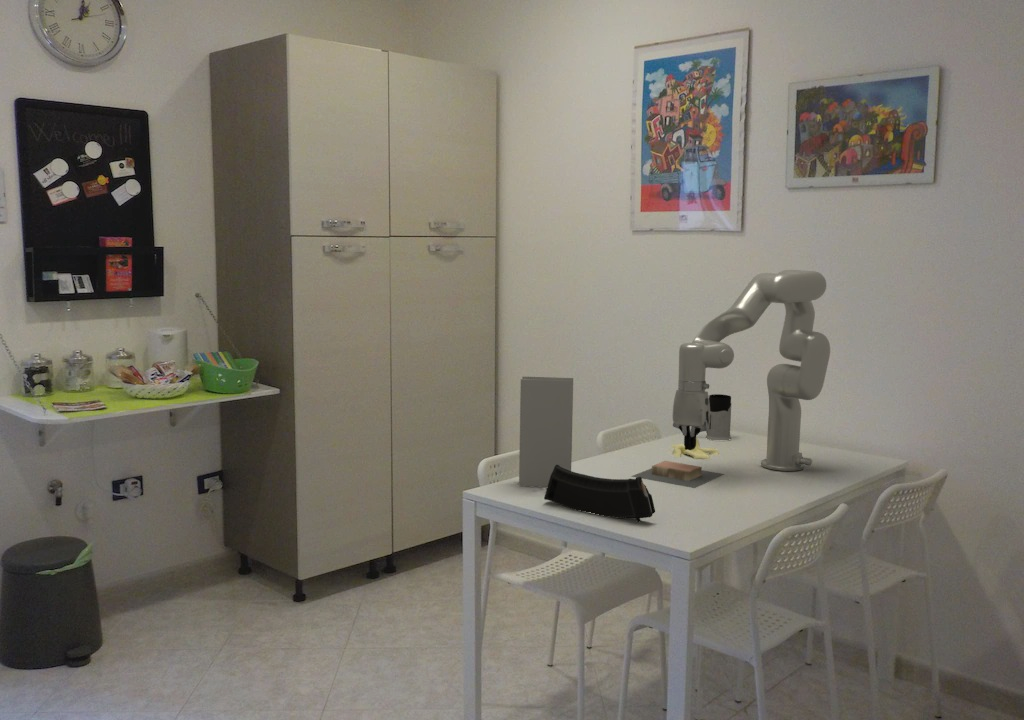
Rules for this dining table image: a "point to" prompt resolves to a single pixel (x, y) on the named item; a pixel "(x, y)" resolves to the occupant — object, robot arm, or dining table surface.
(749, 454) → the dining table surface
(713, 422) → the glass holder
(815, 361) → the robot arm
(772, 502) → the dining table surface
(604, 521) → the dining table surface
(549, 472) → the grey tall flat panel
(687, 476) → the tile
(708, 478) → the mat
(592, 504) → the magazine
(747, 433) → the dining table surface
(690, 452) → the cloth
